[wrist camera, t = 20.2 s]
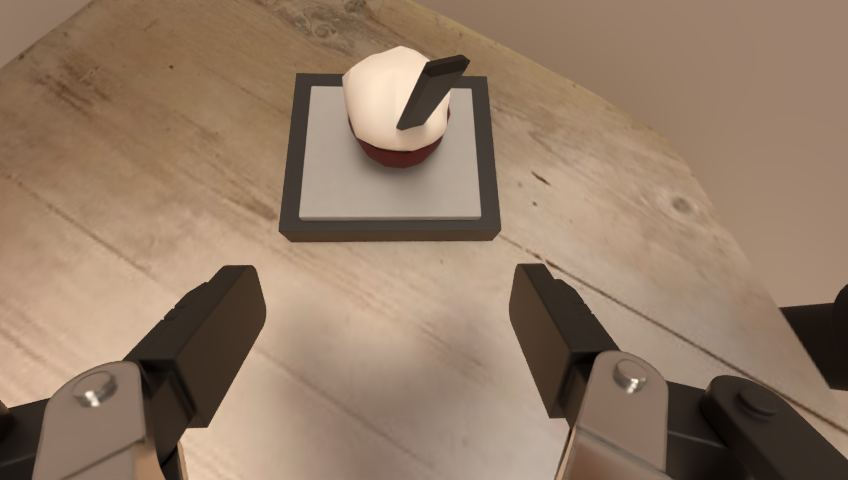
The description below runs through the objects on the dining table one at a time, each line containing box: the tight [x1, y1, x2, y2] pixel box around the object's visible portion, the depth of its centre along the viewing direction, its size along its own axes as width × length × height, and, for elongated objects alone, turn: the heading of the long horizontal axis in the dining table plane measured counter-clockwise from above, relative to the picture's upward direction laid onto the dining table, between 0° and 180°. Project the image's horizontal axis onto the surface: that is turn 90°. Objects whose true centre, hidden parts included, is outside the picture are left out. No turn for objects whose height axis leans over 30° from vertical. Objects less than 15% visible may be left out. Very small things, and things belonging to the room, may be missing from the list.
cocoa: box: [342, 46, 470, 169], centre depth 17 cm, size 10×6×12 cm, turn 178°
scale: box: [279, 73, 501, 242], centre depth 25 cm, size 15×13×3 cm
